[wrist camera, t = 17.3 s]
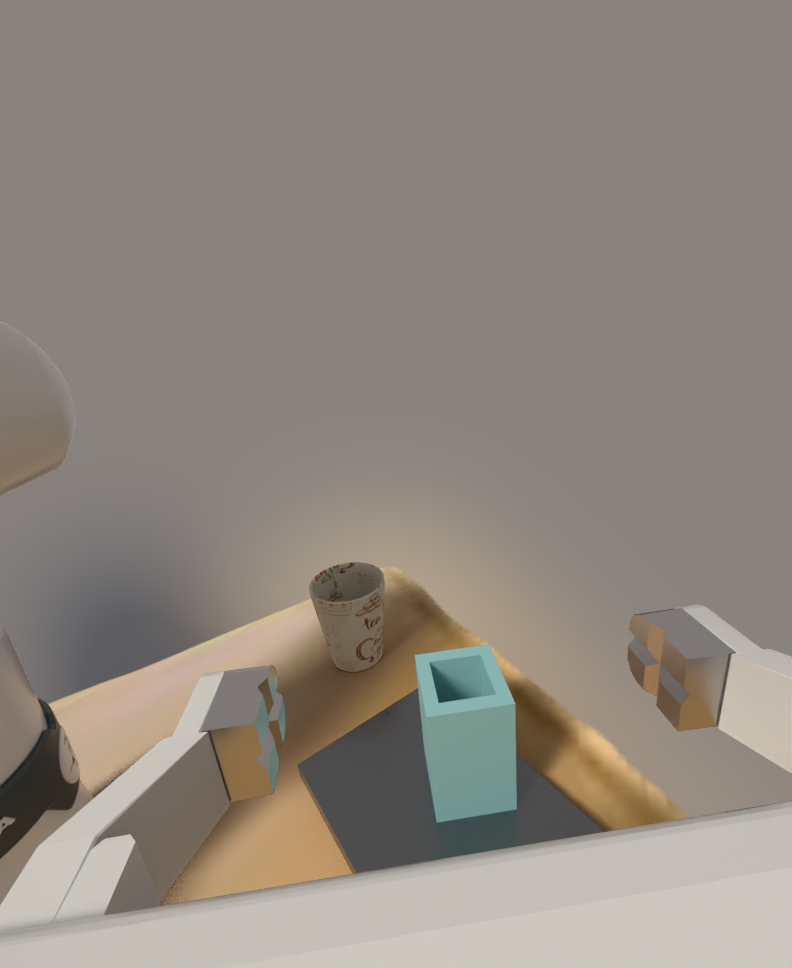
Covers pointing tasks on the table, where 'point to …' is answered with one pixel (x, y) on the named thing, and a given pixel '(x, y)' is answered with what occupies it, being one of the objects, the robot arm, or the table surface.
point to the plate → (419, 799)
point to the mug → (351, 613)
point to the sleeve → (467, 732)
